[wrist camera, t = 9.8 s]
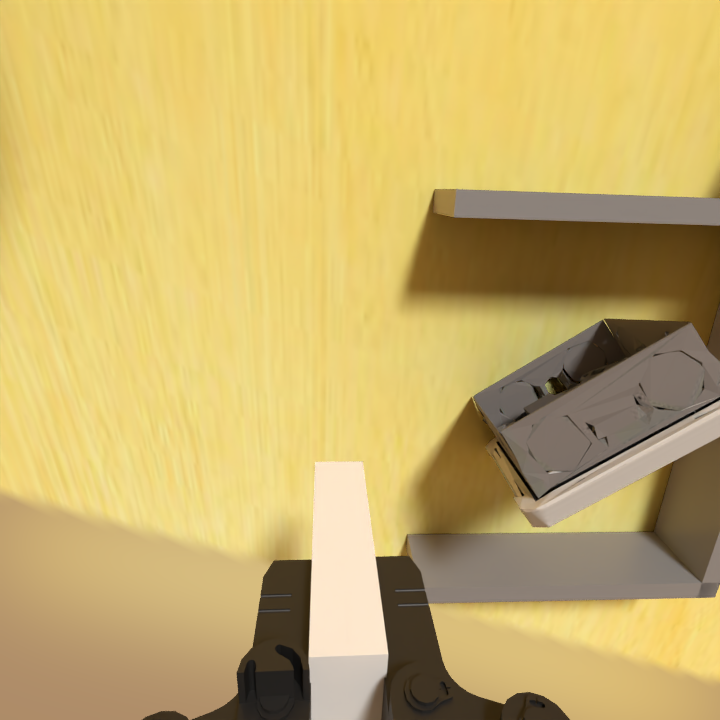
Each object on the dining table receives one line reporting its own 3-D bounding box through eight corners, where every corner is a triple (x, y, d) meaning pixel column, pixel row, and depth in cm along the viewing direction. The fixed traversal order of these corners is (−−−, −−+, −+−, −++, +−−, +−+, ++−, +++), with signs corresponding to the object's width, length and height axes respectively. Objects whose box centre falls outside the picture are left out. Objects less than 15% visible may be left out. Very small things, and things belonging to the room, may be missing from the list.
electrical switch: (489, 455, 27) (557, 569, 18) (442, 380, 25) (489, 461, 16) (645, 367, 25) (803, 441, 16) (603, 284, 24) (748, 314, 15)
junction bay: (434, 189, 22) (456, 189, 18) (769, 200, 23) (856, 203, 19) (406, 548, 28) (417, 603, 25) (665, 544, 29) (714, 597, 26)
